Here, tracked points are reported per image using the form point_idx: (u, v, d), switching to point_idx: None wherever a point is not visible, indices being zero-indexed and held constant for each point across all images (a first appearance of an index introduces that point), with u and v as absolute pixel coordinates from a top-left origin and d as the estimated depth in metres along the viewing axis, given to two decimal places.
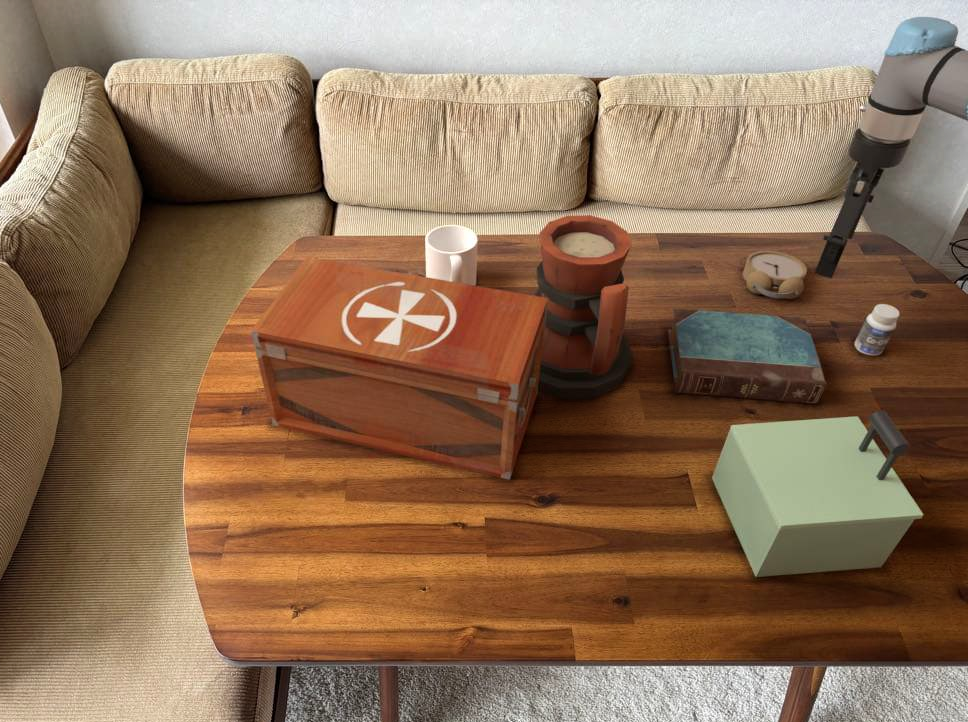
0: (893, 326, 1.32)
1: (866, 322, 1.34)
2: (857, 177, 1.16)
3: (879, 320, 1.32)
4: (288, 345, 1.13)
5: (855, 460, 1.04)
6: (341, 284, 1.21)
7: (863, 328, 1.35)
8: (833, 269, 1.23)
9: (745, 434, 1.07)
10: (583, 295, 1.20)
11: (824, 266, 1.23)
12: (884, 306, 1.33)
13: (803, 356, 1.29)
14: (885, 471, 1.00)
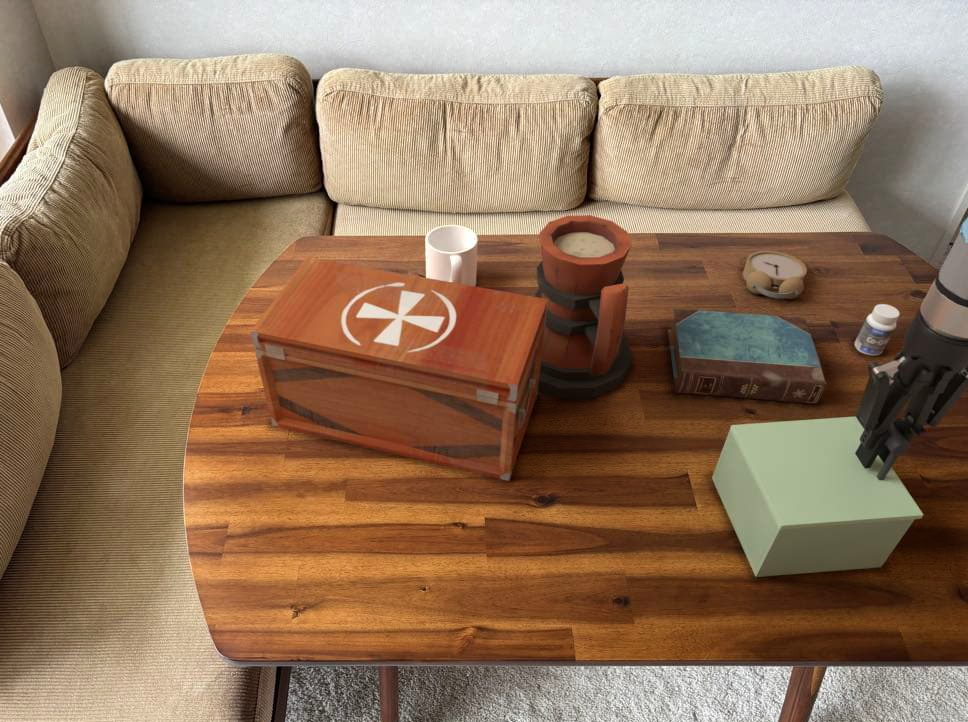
0: (893, 326, 1.32)
1: (866, 322, 1.34)
2: (895, 355, 0.91)
3: (879, 320, 1.32)
4: (287, 345, 1.13)
5: (855, 460, 1.04)
6: (341, 285, 1.21)
7: (863, 328, 1.35)
8: (868, 458, 1.01)
9: (745, 434, 1.07)
10: (583, 295, 1.20)
11: (863, 450, 1.02)
12: (884, 306, 1.33)
13: (803, 356, 1.29)
14: (885, 471, 1.00)
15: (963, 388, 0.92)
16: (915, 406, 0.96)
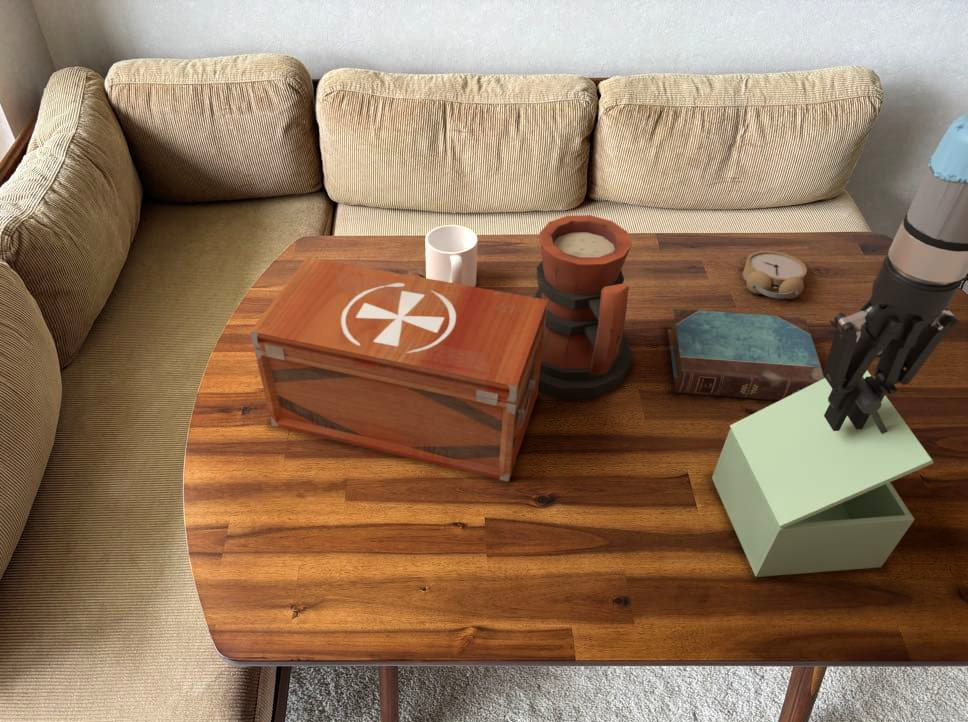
0: None
1: None
2: None
3: None
4: (287, 345, 1.13)
5: None
6: (341, 285, 1.21)
7: None
8: (837, 420, 0.95)
9: (743, 431, 1.07)
10: (583, 295, 1.20)
11: (832, 412, 0.96)
12: None
13: (803, 356, 1.29)
14: (879, 426, 0.94)
15: (935, 342, 0.87)
16: (885, 362, 0.90)
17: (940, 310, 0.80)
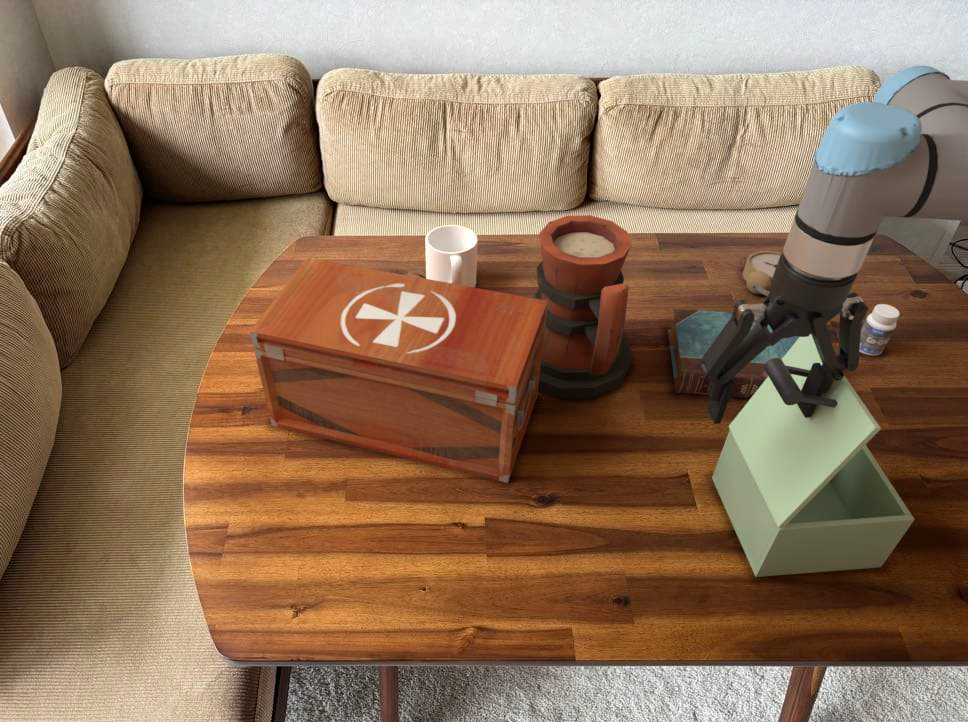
0: (893, 326, 1.32)
1: (866, 322, 1.34)
2: (762, 302, 0.83)
3: (879, 320, 1.32)
4: (286, 345, 1.13)
5: None
6: (341, 285, 1.21)
7: (863, 328, 1.35)
8: (716, 412, 0.92)
9: (738, 430, 1.07)
10: (583, 295, 1.20)
11: (713, 404, 0.93)
12: (884, 306, 1.33)
13: None
14: (822, 404, 0.90)
15: (856, 329, 0.84)
16: (820, 353, 0.88)
17: (835, 306, 0.79)
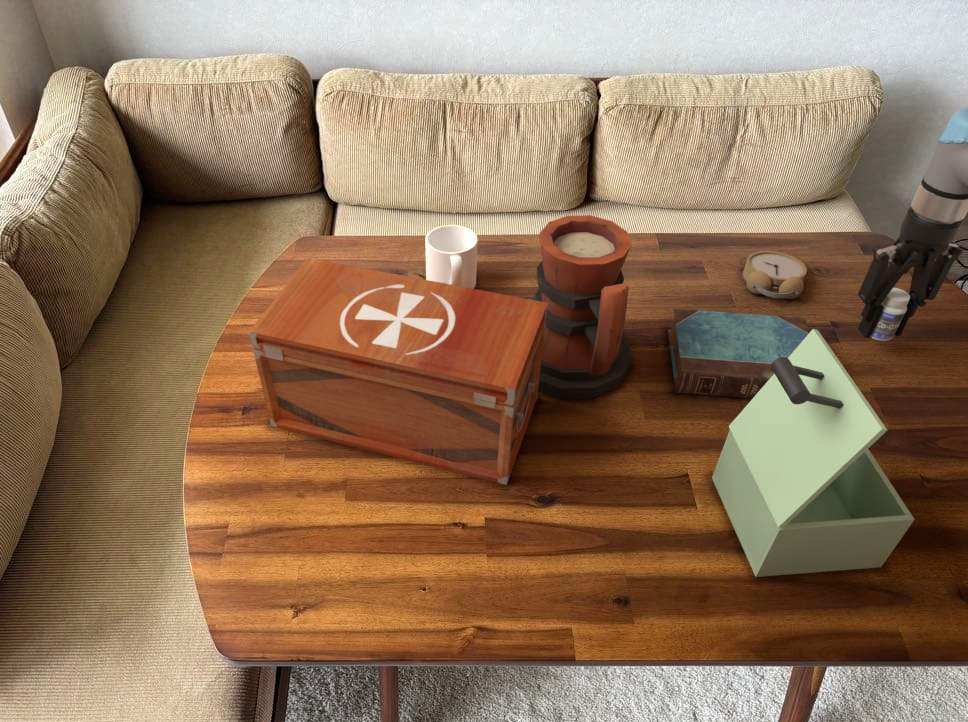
0: (904, 310, 1.29)
1: None
2: None
3: (889, 304, 1.29)
4: (285, 346, 1.13)
5: (818, 395, 0.94)
6: (341, 286, 1.20)
7: None
8: (867, 329, 1.33)
9: (738, 430, 1.07)
10: (583, 295, 1.20)
11: (864, 324, 1.34)
12: (894, 290, 1.30)
13: None
14: (828, 405, 0.90)
15: (948, 266, 1.24)
16: (915, 284, 1.28)
17: (947, 242, 1.18)
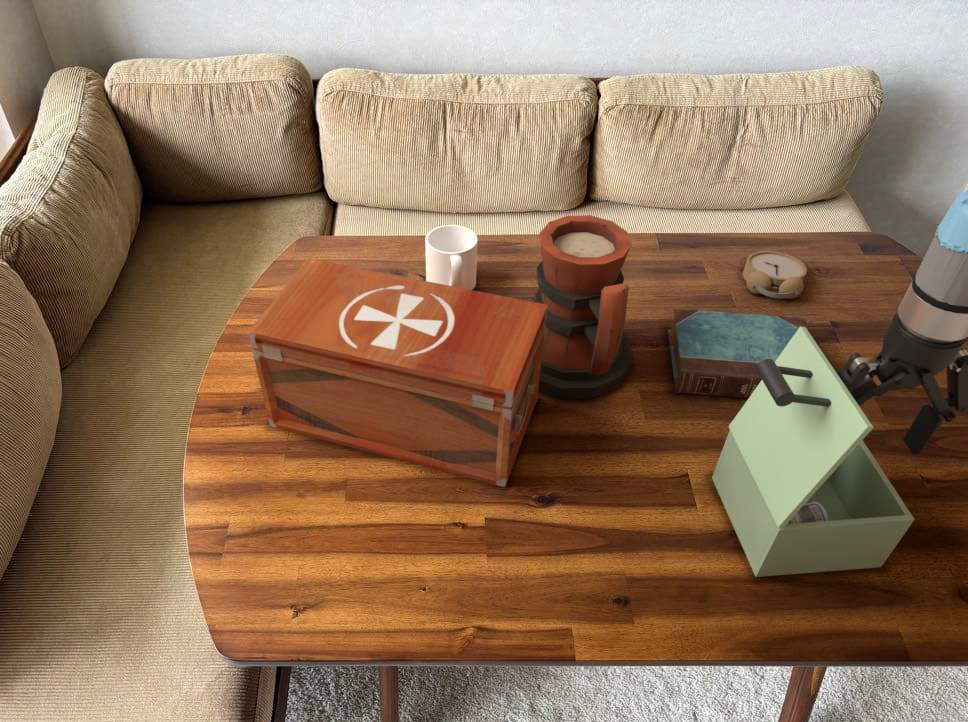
0: None
1: None
2: (873, 358, 0.91)
3: None
4: (284, 346, 1.13)
5: (808, 394, 0.94)
6: (341, 287, 1.20)
7: None
8: None
9: (737, 430, 1.07)
10: (583, 295, 1.20)
11: None
12: None
13: None
14: (815, 404, 0.90)
15: (964, 378, 0.91)
16: (930, 398, 0.95)
17: (946, 364, 0.86)
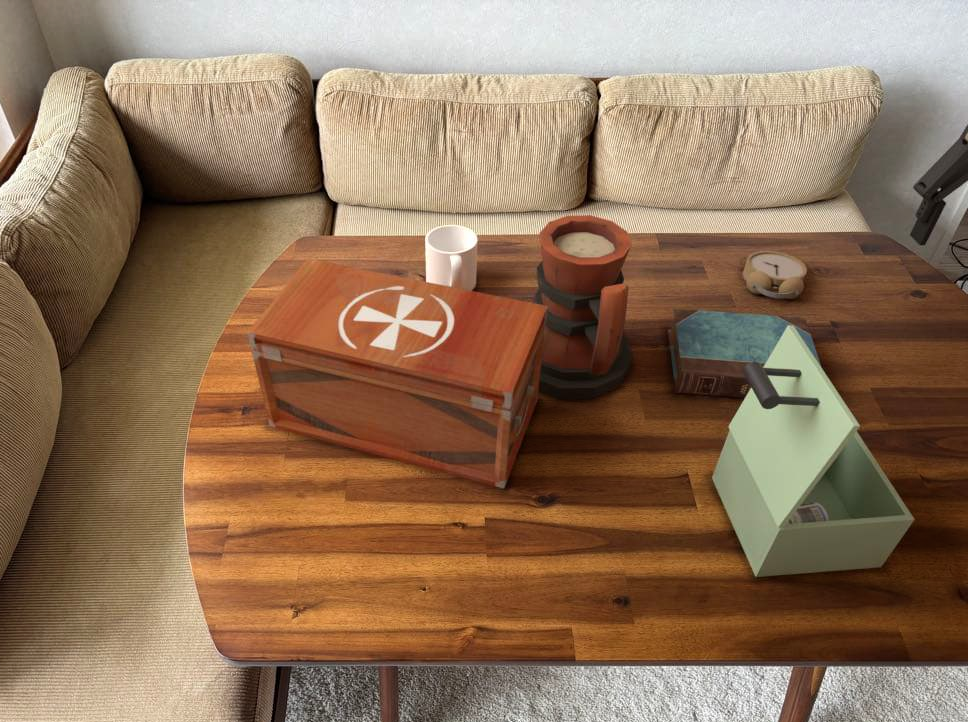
0: None
1: None
2: None
3: None
4: (284, 347, 1.13)
5: (798, 393, 0.94)
6: (340, 287, 1.20)
7: None
8: (923, 234, 1.05)
9: (737, 430, 1.07)
10: (583, 295, 1.20)
11: (918, 228, 1.06)
12: None
13: None
14: (803, 404, 0.90)
15: None
16: None
17: None
